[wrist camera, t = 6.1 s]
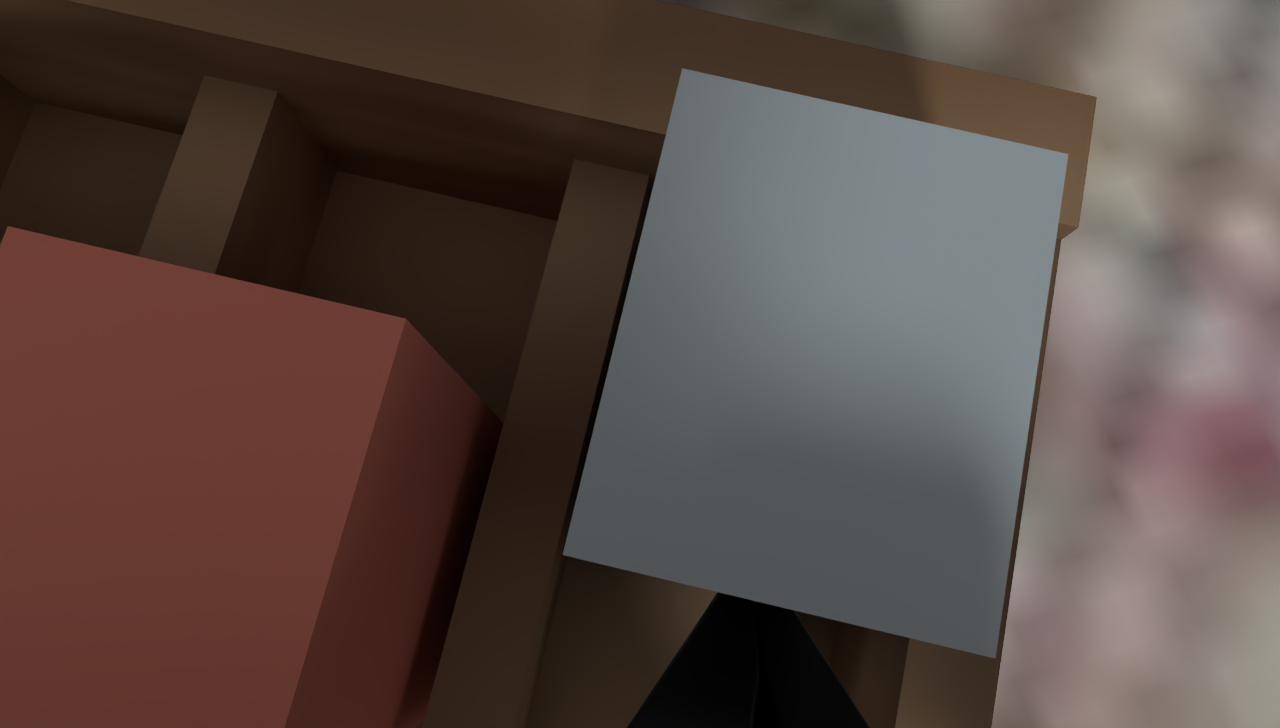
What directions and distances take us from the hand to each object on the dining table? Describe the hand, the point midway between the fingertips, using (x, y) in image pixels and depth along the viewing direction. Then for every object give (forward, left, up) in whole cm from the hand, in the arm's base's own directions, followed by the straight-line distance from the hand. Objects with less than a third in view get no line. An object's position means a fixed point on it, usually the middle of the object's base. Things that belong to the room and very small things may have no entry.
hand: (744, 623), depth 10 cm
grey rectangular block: (+2, +2, -5) cm, 6 cm away
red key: (-4, +4, -5) cm, 8 cm away
